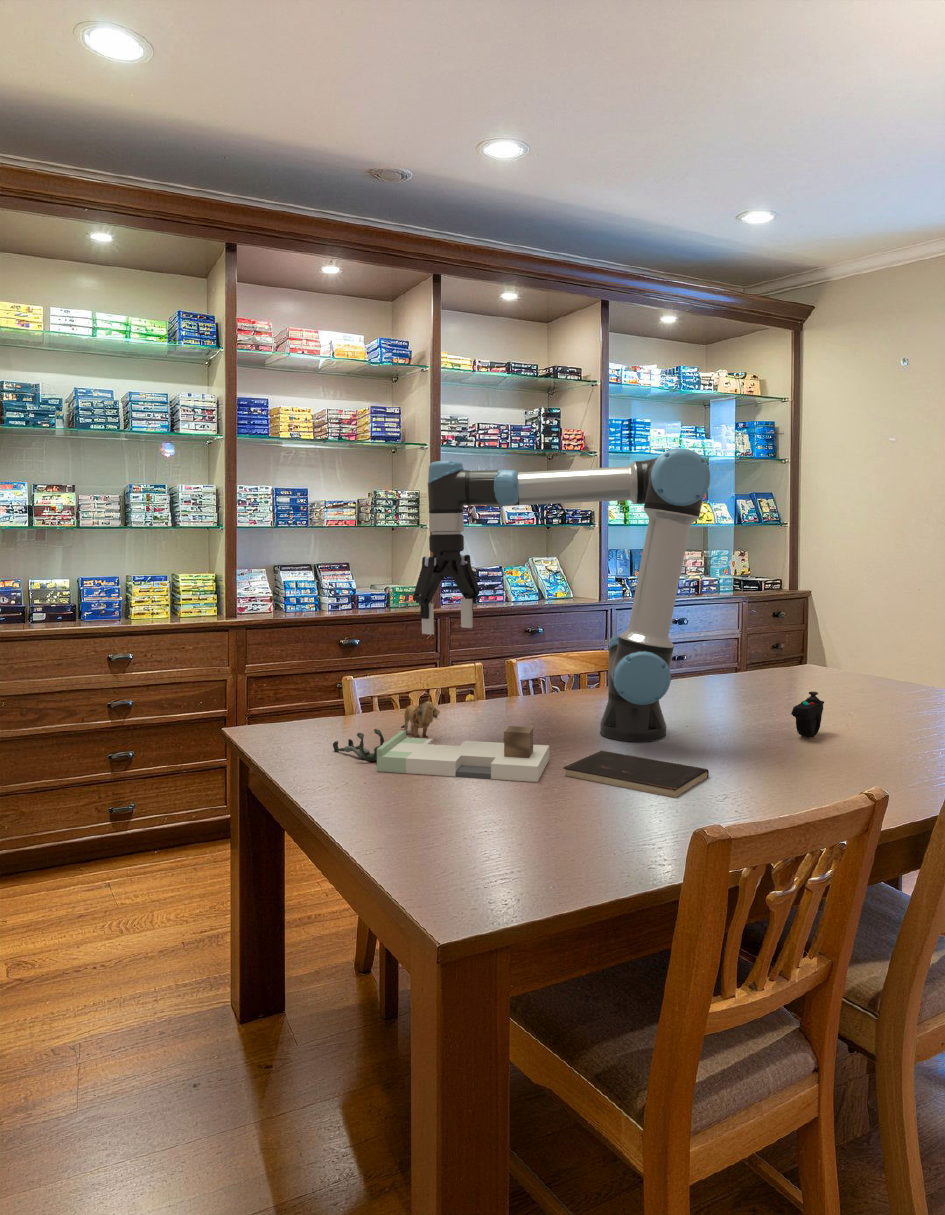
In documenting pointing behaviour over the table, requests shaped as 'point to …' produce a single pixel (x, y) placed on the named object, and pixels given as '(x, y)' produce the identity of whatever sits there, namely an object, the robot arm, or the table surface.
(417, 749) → the trap board
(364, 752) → the zombie figurine
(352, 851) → the table surface
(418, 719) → the lion figurine
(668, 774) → the hardcover book
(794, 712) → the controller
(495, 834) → the table surface
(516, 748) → the walnut block
